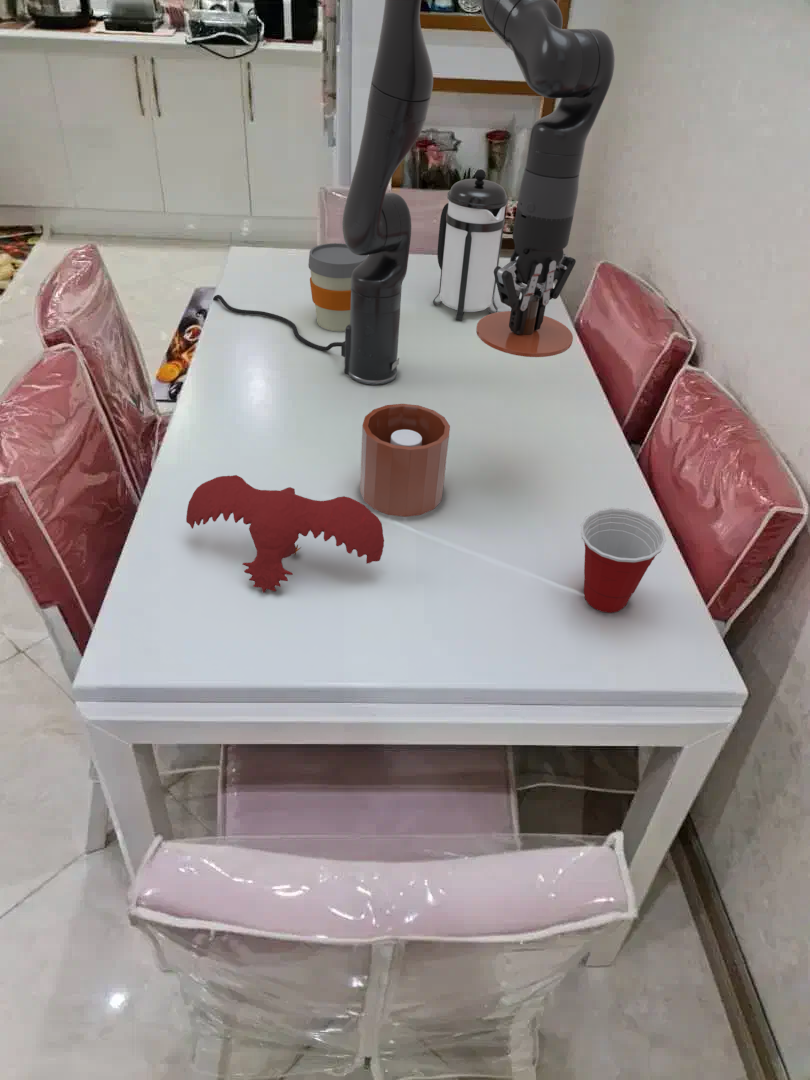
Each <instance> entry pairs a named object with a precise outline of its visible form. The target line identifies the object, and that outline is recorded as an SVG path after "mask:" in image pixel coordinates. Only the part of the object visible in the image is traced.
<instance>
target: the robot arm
mask: <svg viewBox="0 0 810 1080" xmlns="http://www.w3.org/2000/svg"><path fill="white" fill-rule="evenodd" d="M421 4H422V0H384V8H383V15H382V22H381V28H380V35H379V41H378V46H377V53H376V58H375V64H374V68H373V73H372V77H371V82H370V88H369V94H368V99H367V107H366V112H365V113H366V114H365V120H364V126H363V132H362V136H361V141H360V145H359V151H358V155H357V161H356V165H355V168H354V171H353V175H352V179H351V183H350V186H349V188H348V189H349V190H348V193H347V197H346V200H345V203H344V209H343V212H342V222H341V226H342V235H343V240H344V244H346V245H347V247H348V248H349V250H350V251H351V252H353V253H354V254H357V255H368V257H367V258H366V259H365V260H364V261H363V262H362V263H361V264H360V265H358V266H357V267H356V268H355V269H354V270H353V272H352V275H351V305H350V324H349V325H348V326H346V329H345V331H344V333H345V334H344V335H345V336H344V341H334V342H331V343H329V344H328V345H327V346H323V345H319V344H316V343H314V342H311V341H309V340H308V339H306V338H304V337H303V336H302V335H300V332H299V331H298V328H297V325H296V324H295V323H294V322H293V321H291V320H290V319H288V318H286V317H283V316H280V315H279V314H274V313H271V312H267V311H261V310H252V309H242V308H241V309H240V308H237V307H233V306H231V305H229V303H227V301H226V300H225V299H224V297H223V296H222V295H221V294H216V295H214V297H213V298H212V300H213V301H217V300H219V301H220V303H221V304H222V306H224V308H226V309H227V310H228V311H230V312H232V313H236V314H243V315H256V316H263V317H267V318H271V319H275V320H277V321H281V322H283V323H285V324H286V325H288V326H290V327H291V328H292V330H293V334H294V336H295V337H296V339H297V340H299V341H300V342H301V343H303V344H304V345H306V346H308V347H309V348H312V349H315V350H318V351H324V352H327V351H330V350H331V349H333V348H335V347H340V349H341V350H340V351H341V352H340V354H341V355H340V356H341V357H344V374H346V375H349V377H350V378H351V379H352V380H354V381H355V382H358V383H360V384H365V385H383V384H388V383H391V382H392V381H394V380H395V379H396V377H397V374H398V370H397V369H398V366H399V364H400V357H398V353H399V352H398V351H399V336H400V322H401V321H400V320H401V307H402V306H401V304H402V302H401V301H402V289H403V288H402V287H403V282H404V280H405V277H406V276H407V272H408V265H409V256H410V247H411V239H412V216H411V211H410V208H409V206H408V203H407V202H406V200H405V198H403V197H402V195H400V194H398V193H395V192H387V190H388V186H389V184H390V182H391V179H392V177H393V176H394V174H395V172H396V171H397V170H398V167H400V165H401V164H402V162H403V160H404V159H405V158H406V157H407V155H408V153H409V152H410V151H411V149H412V148H413V146H414V145H415V143H416V142H417V141H418V138H419V137H420V135H421V133H422V131H423V129H424V125H425V124H426V120H427V115H428V110H429V108H430V107H429V106H430V102H431V99H432V93H433V89H434V88H433V87H434V75H433V74H434V73H433V68H432V67H433V66H432V64H431V59H430V56H429V53H428V49H427V46H426V42H425V39H424V34H423V31H422V25H421V6H422V5H421ZM479 7H480V10H481V14H482V17H483V18H484V20H485V22H486V24H487V25H488V26H489V28H490V30H491V31H493V33H494V34H495V35H496V36H497V37H498V38H499V39H500V40H501V41H502V43H503V44H505V45H506V46H507V48H508V49H509V50H511V52H513V55H514V58H515V60H516V63H517V65H518V67H519V69H520V71H521V74H522V76H523V78H524V80H525V83H526V84H527V86H528V87H529V88H530V89H531V90H532V91H533V92H535V93H536V94H537V95H539V96H541V97H543V98H546V99H560V100H559V102H558V104H557V106H556V108H555V110H553V111H552V112H551V113H549V114H548V115H545V116H542V117H540V118H539V119H537V120H536V121H534V123H533V125H532V126H531V130H530V133H529V138H528V144H527V152H526V157H525V164H524V171H523V174H522V177H521V181H520V185H519V190H518V198H517V204H516V210H515V217H514V224H513V230H512V239H513V244H514V249H513V252H512V254H511V256H510V260H509V262H508V263H507V264H505V265H504V266H503V267H501V266H497V267H496V268H495V269H494V276H495V280H496V287H497V292H498V296H499V299H500V302H501V303H502V304H503V305H506V306H508V307H510V311H511V314H510V320H509V328H510V330H511V331H512V332H514V333H516V334H517V335H519V334H523V332H524V327H525V321H526V315H527V310H526V308H527V306H528V302H529V299H530V296H531V295H534V296H537V297H538V298H539V299H540V300H539V306H538V311H537V317H536V322H535V328H534V330H538V329H540V326H541V324H542V322H543V317H544V316H545V311H546V306H548V305H549V303H550V301H551V300H557V299H558V298H559V296H560V294H561V292H562V291H563V288H564V287H565V284H566V282H567V281H568V279H569V276H570V275H571V273H572V272H573V269H574V267H575V265H576V263H577V260H576V258H574V257H571V256H570V255H567V254H566V253H564V249H565V248H567V246H568V245H569V242H570V235H571V230H572V226H573V221H574V215H575V209H576V206H577V205H576V204H577V199H578V193H579V183H580V182H579V181H580V174H581V168H582V163H583V158H584V152H585V149H586V142H587V139H588V136H589V134H590V132H591V130H592V128H593V126H594V124H595V122H596V119H597V117H598V115H599V112H600V110H601V108H602V105H603V104H604V101H605V99H606V96H607V94H608V92H609V89H610V86H611V84H612V81H613V77H614V71H615V64H616V63H615V61H616V60H615V59H616V58H615V57H616V56H615V50H614V45H613V43H612V42H613V41H612V40H611V38H610V37H609V35H608V34H607V33H605V31H602V30H600V29H598V28H563V22H564V21H563V14H562V11H561V9H560V6H559V5H558V4H557V3H556V1H555V0H479ZM555 281H556V283H555ZM554 283H555V285H554ZM520 296H521V297H520Z"/></svg>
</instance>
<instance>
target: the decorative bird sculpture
mask: <svg viewBox="0 0 810 1080" xmlns="http://www.w3.org/2000/svg"><path fill="white" fill-rule="evenodd" d="M186 509H187V510H186V517H185V518H186V520H185V522H186V523H187V524H188V525H189V526H190V529H193V530H194V527H195V524H196V525H197V526H200V524H201V523H202V525H206V524H207V523H208V522H209V520H210V519H211V520H212V522H214V523H215V522H216V521H217V520H218V519H219V517H220V516H221V515H222V516H223V517H222V518H223V520H224V521H225V522H228V521H229V518H230V517H231V514H232V515H233V521H234V522H235V524H236V523H238V522H239V521H240V520H242V523H243V524H244V525H249V528H248V531H249V534H250V537H251V539H252V541H253V545H254V548H255V550H256V556H255V557H254V559H253V561H251V562H242V566H245V567H247V568H245V569H244V570H243V572H244V573H245V574H249V575H251V576H250V578H249V579H248V581H251V582H254V583H253V585H252V587H253V588H259V589H261V593H263V594H265V593H266V591H267V590H268V591H271V592H277V589H276V587H278V588H281V586H282V585H281V583H280V582H281V581H282V582H283V581H284V582H288V581H289V580H288V577H287V576H294V573H293V572H292V571H290V570H287V569H285V568H284V566H283V559H286V558H289V557H291V556H292V555H296V554H297V552H298V551H299V550H300V549H301V548H302V546H300V547H298V546H299V544H297V545H296V543H297V541H298V539H299V537H300V536H299V535H301V536H303V537H307V536H308V535H309V532H311V533H312V536H313V538H314V539H317V538H318V537H319V536H320V535H321V534H322V533H323V541H324V542H327V541H329V540H330V539H331V538H332V537H334V539H335V546H336V547H340V546H342V545H343V544H344V546H345V551H346V552H347V554H350V555H351V554H352V553H353V551H354V550H355V551H356V555H357V557H358V558H362V557H363V556H366V560H365V561H366V563H365V564H367V565H368V564H371V563H372V562H373V563H374V562H380V561H381V558H382V555H383V552H384V548H385V547H384V546H385V538H384V530H383V524H382V522H381V520H380V519H379V516H377V515H376V514H375V513H373V512H372V511H371V510H370V509H369V508H368V507H367V506H366V505H365V504H363V503H362V502H359V501H358V500H356V499H353V498H351V497H349V496H344V495H343V496H338V497H335V498H332V499H326V500H317V499H311V498H308V497H304V496H302V495H299V494H296V490H295V488H294V487H291V486H290V487H286V488H283V489H281V490H278V489H277V490H276V489H273V490H272V489H271V490H269V489H258V488H255V487H253V486H251V485H250V484H249V483H248V482H246V480H245V479H244V478H243V477H241V476H239V475H237V474H234V475H222V476H216V477H214V478H212V479H210V480H207V481H205V482H203V483H201V484H200V485H199V486H198V487H196V489H195V490H194V492H193V493H192V496H191V497H190V499H189V501H188V504H187V508H186ZM286 575H287V576H286Z"/></svg>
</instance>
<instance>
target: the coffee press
mask: <svg viewBox="0 0 810 1080" xmlns="http://www.w3.org/2000/svg"><path fill="white" fill-rule="evenodd" d="M474 177H475V178H465V179H461V180H459V181H457V182H455V183H454V184H453V185H452V186H451V188H450V190H448V191H447V195H446V197H447V201H448V202H447V203H446V204H445V205H444V206H443V208H442V209H441V214H440V220H439V226H438V227H439V229H438V239H437V240H438V241H437V256H436V257H437V263H438V266H439V269H440V279H439V289H438V294H437V295H436V296H435V297H434V298H433V300H432V303H433V305H434V306H439V305H440V304H444V306H446V307H448V309H449V308H450V309H451V310H455V311H456V314H455V321H459V322H462V321H463V319H464V316H465V315H464V314H465V312H466V313H474V312H475V313H476V312H482V311H484V310H487V311H488V312H489V313H490V314H492V313H497V312H499V311H498V310H499V308H498V306H497V305H496V302H495V296H496V295H495V294H496V287H497V284H496V280H495V276H494V269H495V268H496V267H497V266H499V265H500V258H501V251H502V245H503V244H502V243H503V236H504V235H503V234H504V229H505V228H504V227H505V223H506V222H505V221H506V215H505V213H506V207H507V205H508V203H509V197H508V195H507V192H506V189H505V188H504V187H503V185H500V183H497V182H495V181H493V180H488V179H486V177H487V173H486V171H485V170H484V169H480V168H479V169H478V170H476V172H475V173H474ZM499 267H500V266H499ZM438 297H439V298H440V301H439V302H437V301H436V299H437V298H438ZM491 305H493V308H494V309H495V311H493V310H492V309H491V308H490V306H491Z"/></svg>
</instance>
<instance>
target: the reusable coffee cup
mask: <svg viewBox="0 0 810 1080" xmlns="http://www.w3.org/2000/svg"><path fill="white" fill-rule="evenodd" d="M368 256H369V255H357V254H354V253H353V252H351V251H350V250H349V248H348V247H347V245H346V243H342V242H332V243H322V244H319V245H316V246H314V247H312V248H311V249H310V250H309V253H308V263H307V264H308V265H307V267H308V269H309V270H310V278H309V284H310V285H309V286H310V291H311V292H310V293H311V300H312V302H313V304H314V307H315V315H316V321H317V325H318V326H319V327H320V328H322V329H324V330H326V331H329V332H330V331H331V332H339V333H341V332H342V333H343V332H345V329H346V326H348V325H349V324H350V305H351V275H352V272H353V270H354V269H355V268H356V267H357V266H358V265H360V264H361V263H362V262H363V261H364V260H365V259H366V258H367V257H368Z"/></svg>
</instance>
